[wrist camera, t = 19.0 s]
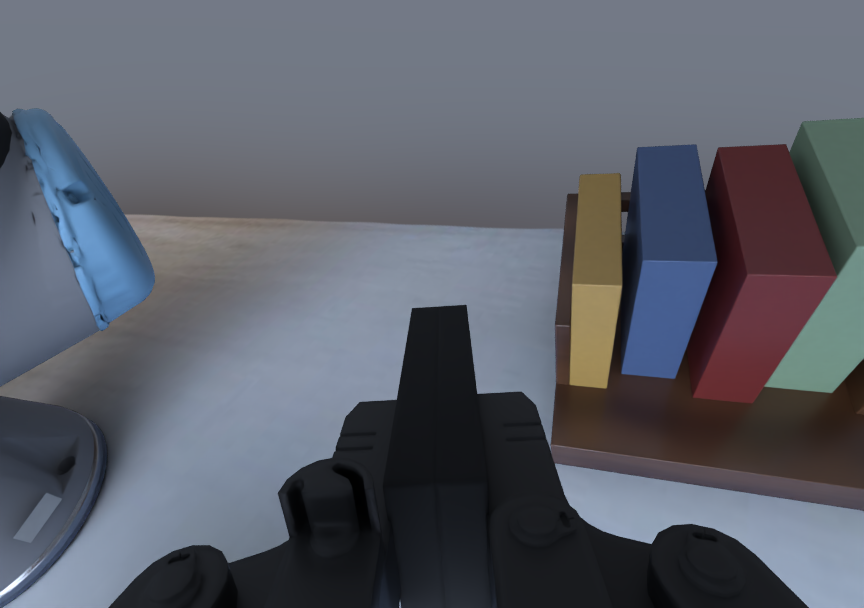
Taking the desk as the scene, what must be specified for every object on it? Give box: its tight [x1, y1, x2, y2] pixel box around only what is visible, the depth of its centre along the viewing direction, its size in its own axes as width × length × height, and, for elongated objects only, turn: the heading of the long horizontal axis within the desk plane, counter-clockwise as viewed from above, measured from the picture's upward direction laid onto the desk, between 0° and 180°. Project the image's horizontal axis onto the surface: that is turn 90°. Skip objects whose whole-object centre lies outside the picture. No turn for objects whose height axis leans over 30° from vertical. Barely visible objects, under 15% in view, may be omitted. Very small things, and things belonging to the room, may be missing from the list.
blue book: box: [621, 145, 718, 379], centre depth 27 cm, size 9×3×10 cm, turn 166°
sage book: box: [764, 118, 864, 393], centre depth 24 cm, size 9×3×11 cm, turn 166°
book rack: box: [551, 190, 864, 511], centre depth 27 cm, size 15×16×9 cm
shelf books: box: [569, 144, 837, 403], centre depth 26 cm, size 9×10×10 cm
